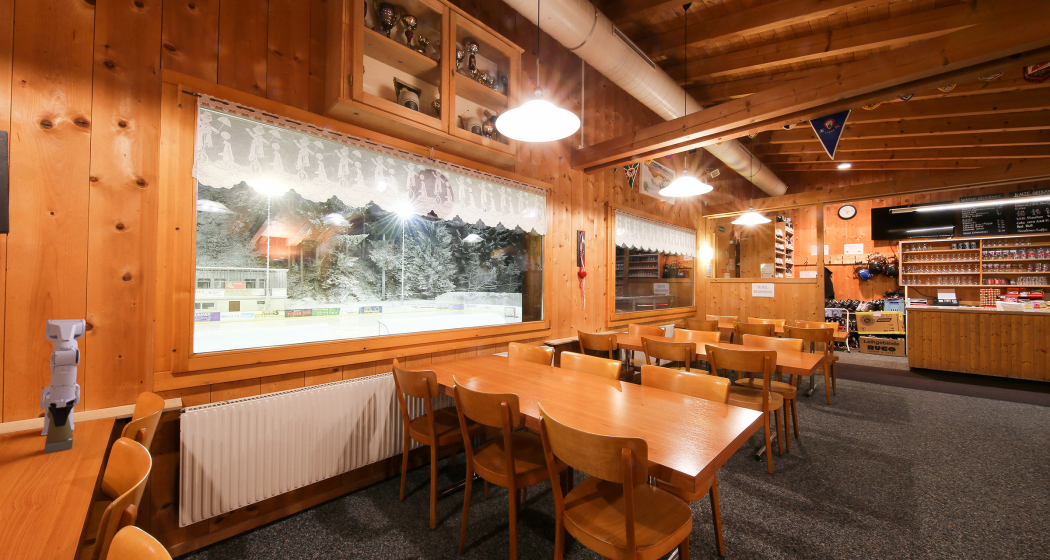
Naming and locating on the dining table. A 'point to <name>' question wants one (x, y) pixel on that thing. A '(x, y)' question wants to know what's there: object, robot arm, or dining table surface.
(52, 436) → the cork
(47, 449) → the block
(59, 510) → the dining table surface
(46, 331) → the robot arm
